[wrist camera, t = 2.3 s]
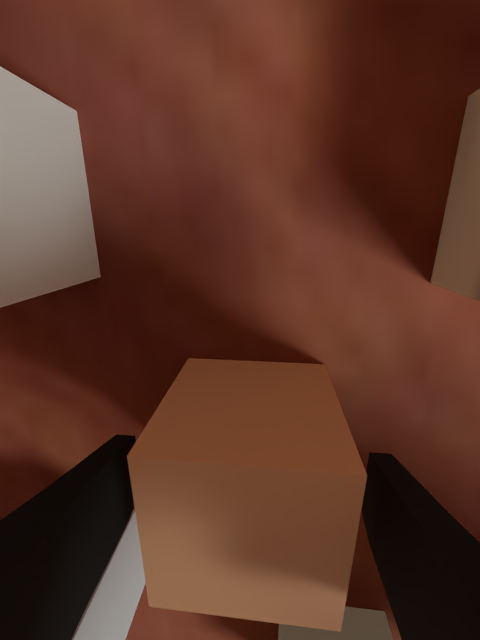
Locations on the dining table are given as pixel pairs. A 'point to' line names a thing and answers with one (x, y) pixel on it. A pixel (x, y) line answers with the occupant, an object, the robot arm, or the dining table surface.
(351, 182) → the dining table surface
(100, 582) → the grey block
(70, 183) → the white block
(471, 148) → the maple block
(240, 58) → the dining table surface
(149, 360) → the dining table surface
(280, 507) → the terracotta block
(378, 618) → the sage block
